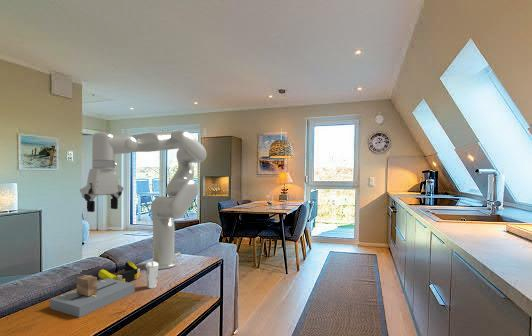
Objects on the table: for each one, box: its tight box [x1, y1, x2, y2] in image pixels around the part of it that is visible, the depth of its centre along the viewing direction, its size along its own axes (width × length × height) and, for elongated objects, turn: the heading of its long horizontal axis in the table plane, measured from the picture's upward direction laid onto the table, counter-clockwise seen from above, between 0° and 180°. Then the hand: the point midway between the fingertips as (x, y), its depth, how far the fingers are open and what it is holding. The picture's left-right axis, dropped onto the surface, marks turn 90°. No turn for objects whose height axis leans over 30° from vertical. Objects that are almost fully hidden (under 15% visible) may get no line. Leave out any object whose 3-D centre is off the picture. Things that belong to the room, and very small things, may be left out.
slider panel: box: [49, 278, 136, 319], centre depth 97 cm, size 20×14×3 cm
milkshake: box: [145, 260, 159, 289], centre depth 108 cm, size 5×5×10 cm
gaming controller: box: [97, 260, 141, 283], centre depth 116 cm, size 15×6×10 cm
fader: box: [76, 274, 98, 296], centre depth 95 cm, size 3×6×5 cm, turn 66°
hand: (102, 210), depth 111 cm, fingers open, 9 cm apart
